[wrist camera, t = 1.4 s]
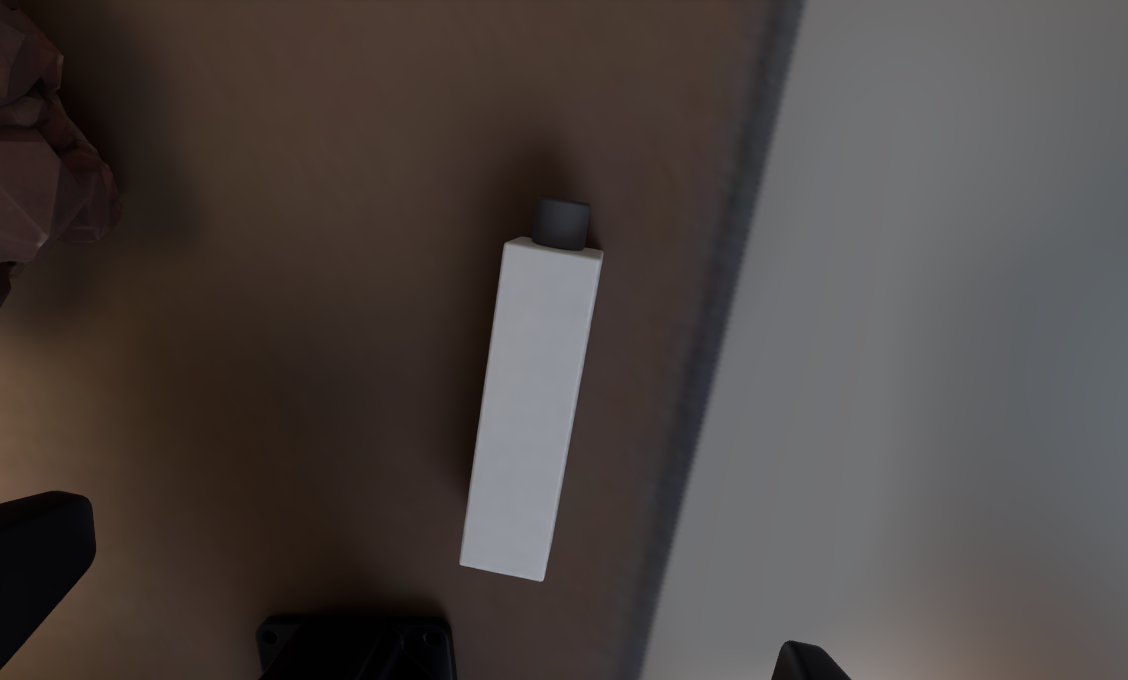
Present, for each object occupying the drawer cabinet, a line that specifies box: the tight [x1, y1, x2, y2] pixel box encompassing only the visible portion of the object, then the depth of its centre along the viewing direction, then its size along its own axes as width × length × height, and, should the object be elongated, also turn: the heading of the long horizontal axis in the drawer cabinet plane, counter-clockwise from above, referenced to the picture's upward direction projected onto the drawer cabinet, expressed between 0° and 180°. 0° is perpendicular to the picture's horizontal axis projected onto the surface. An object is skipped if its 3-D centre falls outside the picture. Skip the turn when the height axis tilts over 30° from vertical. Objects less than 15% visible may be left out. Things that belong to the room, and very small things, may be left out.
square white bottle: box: [459, 196, 604, 581], centre depth 17 cm, size 10×2×2 cm, turn 171°
